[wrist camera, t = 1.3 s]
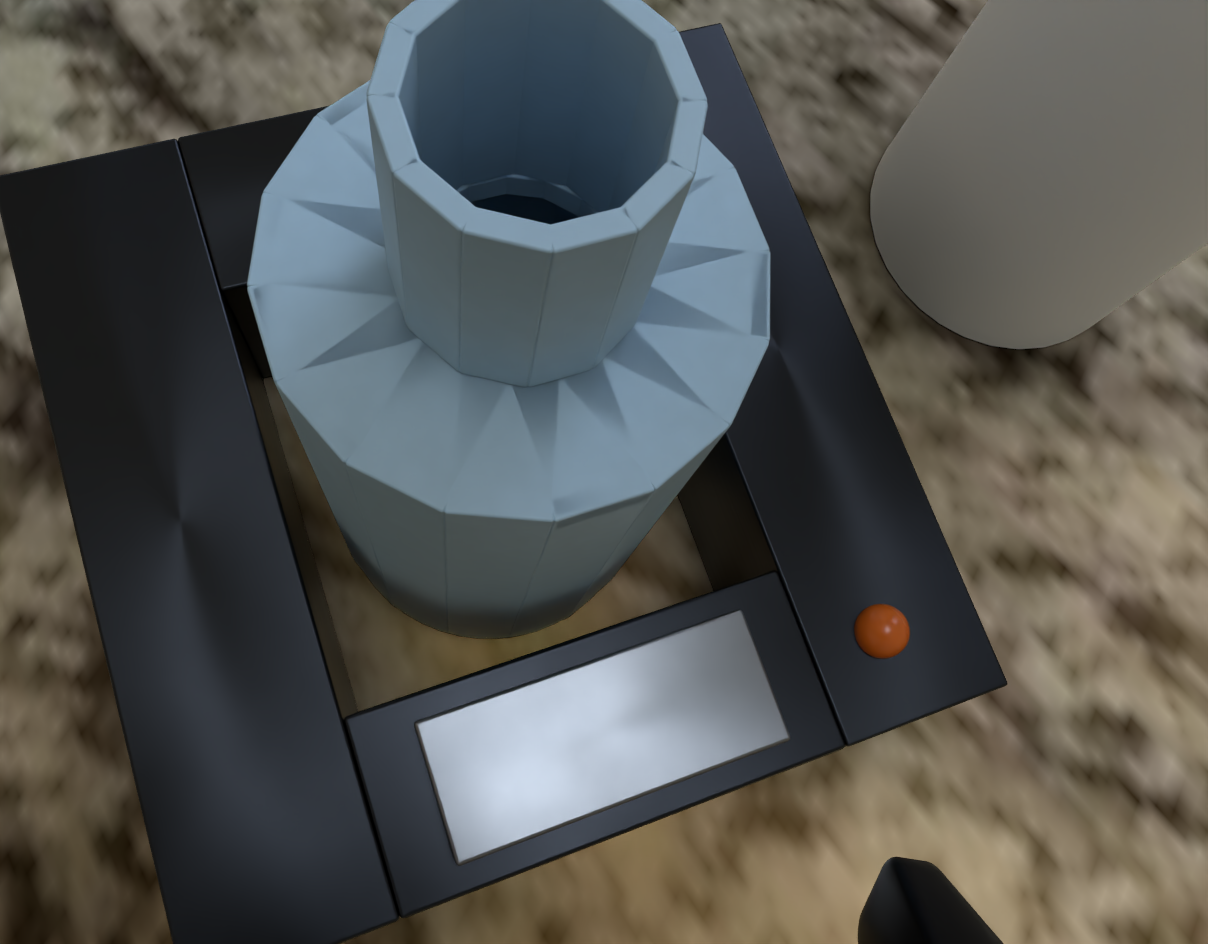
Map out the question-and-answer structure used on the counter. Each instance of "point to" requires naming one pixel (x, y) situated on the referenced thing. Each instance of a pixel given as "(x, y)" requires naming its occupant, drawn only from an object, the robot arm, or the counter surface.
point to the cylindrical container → (1050, 167)
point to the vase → (509, 302)
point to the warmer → (490, 696)
